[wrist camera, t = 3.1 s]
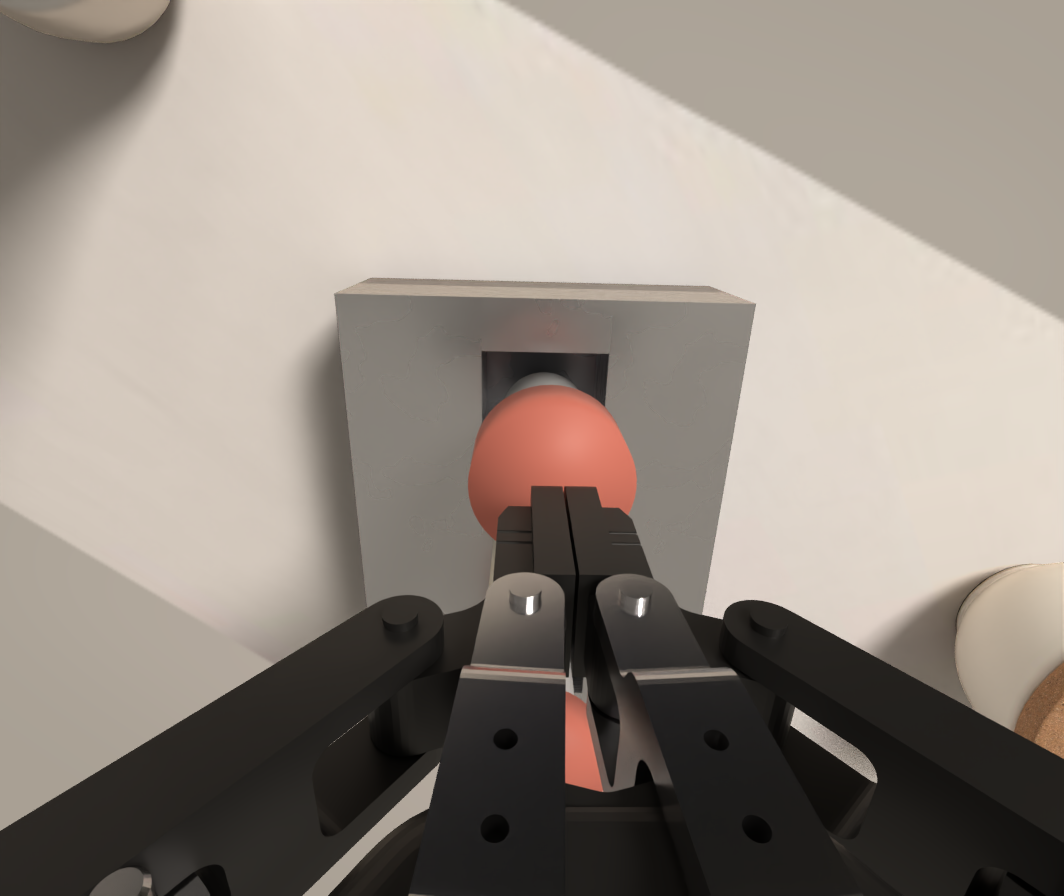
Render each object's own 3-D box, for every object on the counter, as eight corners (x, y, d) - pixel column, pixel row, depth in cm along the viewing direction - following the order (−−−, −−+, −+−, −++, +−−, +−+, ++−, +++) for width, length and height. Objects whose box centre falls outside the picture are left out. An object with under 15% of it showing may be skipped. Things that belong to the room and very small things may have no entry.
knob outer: (483, 692, 25) (474, 827, 20) (483, 612, 24) (472, 734, 18) (582, 692, 25) (599, 826, 20) (588, 613, 24) (609, 734, 18)
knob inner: (482, 467, 21) (469, 558, 16) (481, 351, 19) (466, 405, 14) (600, 469, 21) (628, 560, 16) (609, 353, 20) (644, 409, 14)
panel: (400, 645, 30) (378, 722, 26) (371, 277, 23) (334, 293, 19) (658, 646, 31) (683, 722, 26) (709, 286, 24) (755, 303, 19)
